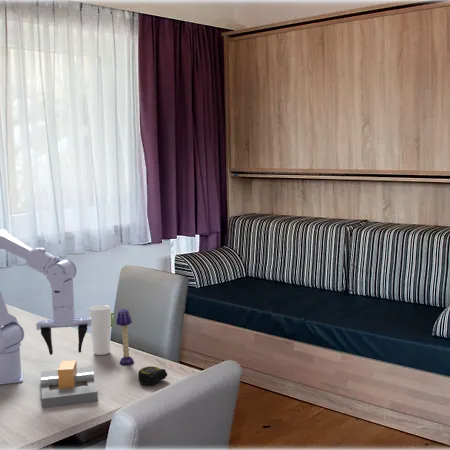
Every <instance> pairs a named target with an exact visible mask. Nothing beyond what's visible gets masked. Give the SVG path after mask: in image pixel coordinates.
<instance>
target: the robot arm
mask: <svg viewBox="0 0 450 450" xmlns="http://www.w3.org/2000/svg"><path fill="white" fill-rule="evenodd" d="M1 249H2V250H5V251H7V252H9V253H10V254H13V255H15V256H17V257H18V258H21V259H24V260H25V262H26V265H27V266H28V267H30V268H31V269H32V270H35V271H36V272H38V273H41V274H43V276H46V279H47V281H48V282H49V283H50V288H51V299H52V301H51V302H52V318H50V319H45V320H37V321H36V322H35V323H36V330H38V331H40V335H41V336H42V338H43V340H44V342H45V343H46V346H47V349H48V353H49V355H50V356H51V355H53V353H54V350H53V341H52V329H58V328H68V327H69V328H73V327H74V328H75V327H77V332H78V333H77V335H78V346H77V347H78V351H77V352H78V353H82V347H83V346H82V345H83V343H84V342H83V341H84V339H85V336H86V334H87V331H88V327H90V326H91V317H89V316H88V317H79V316H77V317H75V299H74V297H75V296H74V278H75V277H76V275H77V267H76V264H75V263H74V262H73V261H72V260H71V259H70V258H64V259H61V257H60V256H58V255H56V256H55V255H53V254H52V253H50V252H49V251H48V252H47V249H46V248H45V247H36V248H35V247H34V248H32V247H30V246H29V245H27V244H26V243H23V242H22V241H20V240H19V239H17V238H16V237H15V236H12V235H11V234H9V233H8V231H7V230H6V229H3V228H2V227H0V250H1ZM2 294H3V293H2V291H1V290H0V385H8V384H13V383H14V384H16V383H22V382H23V381H24V371H23V370H22V365H21V348H20V347H21V346H22V345H21V344H22V341H23V340H24V338H25V330H24V328H23V327H22V325H21V324H20V323H19V321H18V320H17V317H16V316H14V315H12V314H11V313H9V311H8V308H7V305H6V303H5V300H4V298H3V295H2Z"/></svg>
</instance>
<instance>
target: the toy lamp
mask: <svg viewBox="0 0 450 450" xmlns="http://www.w3.org/2000/svg"><path fill="white" fill-rule="evenodd" d="M131 324H132V317H131V314H130V312H129V310H128V309H126V308H125V309H124V308H123V309H119V310H118V312H117V316H116V325H118V326H121V333H122V334H121V336H122V347H123V348H122V352H123V353H122V355H123V357H122V358H120V360H119V364H120V365H121V366H131V365H133V364H134V363H135V361H134V360H135V359H133V357H132V356H130V353H129V352H130V348H129V332H128V326H129V325H131Z"/></svg>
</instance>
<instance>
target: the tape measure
mask: <svg viewBox="0 0 450 450" xmlns="http://www.w3.org/2000/svg"><path fill="white" fill-rule="evenodd" d="M137 375H138V377H137V378H138V382H139V383H140V384H142V385H147V386H155V384H158V383H159V382H161V381H163V380H164V379H166V377H168V372H167V370H166V369H165V368H159V367H158V366H153V365H152V366H150V365H149V366H145V367H142V368H141V369H139V370H138V372H137Z"/></svg>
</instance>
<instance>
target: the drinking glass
mask: <svg viewBox="0 0 450 450" xmlns="http://www.w3.org/2000/svg"><path fill="white" fill-rule="evenodd" d="M88 309H89V312H88V314H89V315H88V318H89V317H91V326H89V327H90V333H91V343H92V352H93V354H94V355H97V356H104V355H108V354H109V353H111V332H112V331H111V328H112V311H111V306H110V305H107V304H96V305H91V306H90V307H89V308H88Z"/></svg>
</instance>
